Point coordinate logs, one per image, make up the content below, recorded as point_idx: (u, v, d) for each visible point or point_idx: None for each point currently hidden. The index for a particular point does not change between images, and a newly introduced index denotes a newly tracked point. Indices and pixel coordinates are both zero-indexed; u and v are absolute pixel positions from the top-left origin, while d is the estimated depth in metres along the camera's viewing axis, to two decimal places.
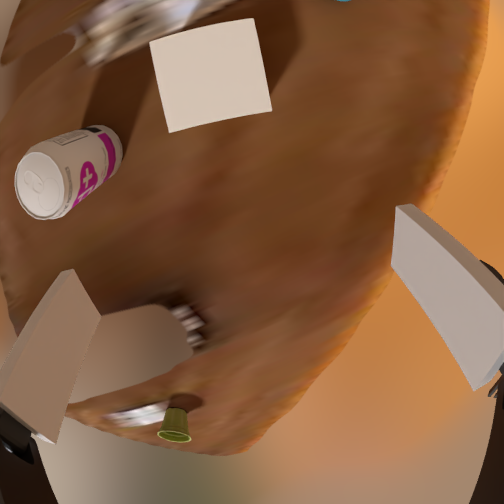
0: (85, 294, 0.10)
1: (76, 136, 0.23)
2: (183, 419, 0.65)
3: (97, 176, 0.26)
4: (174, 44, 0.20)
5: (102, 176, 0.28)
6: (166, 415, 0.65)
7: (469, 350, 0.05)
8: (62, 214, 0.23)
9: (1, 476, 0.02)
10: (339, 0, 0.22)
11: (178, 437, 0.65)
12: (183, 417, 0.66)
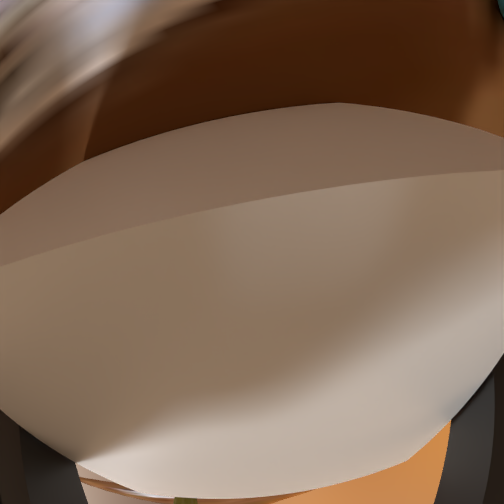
0: None
1: None
2: None
3: None
4: None
5: None
6: (175, 503, 0.47)
7: None
8: None
9: (28, 469, 0.03)
10: None
11: None
12: None
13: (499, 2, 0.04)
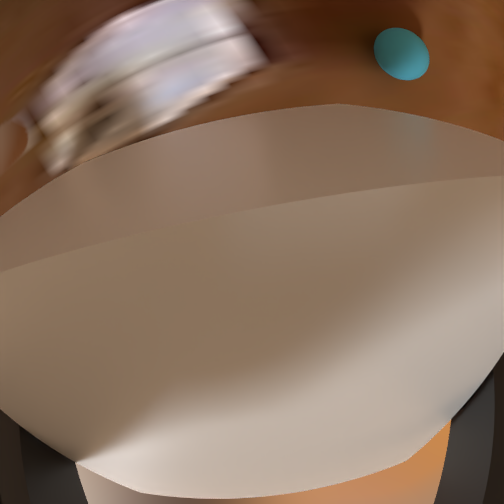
0: None
1: None
2: None
3: None
4: None
5: None
6: None
7: None
8: None
9: (28, 469, 0.03)
10: None
11: None
12: None
13: None
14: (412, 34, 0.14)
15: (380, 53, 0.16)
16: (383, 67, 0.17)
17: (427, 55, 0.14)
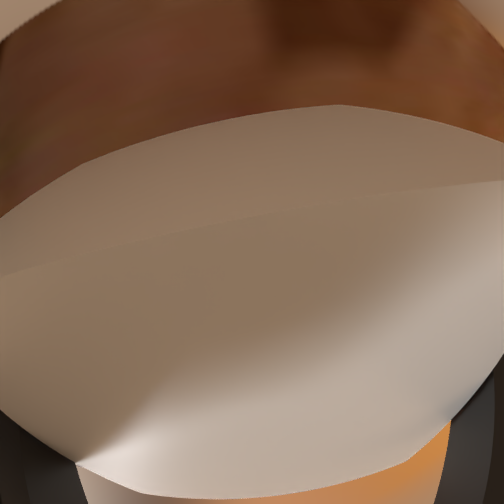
0: None
1: None
2: None
3: None
4: None
5: None
6: None
7: None
8: None
9: (28, 469, 0.03)
10: None
11: None
12: None
13: None
14: None
15: None
16: None
17: None
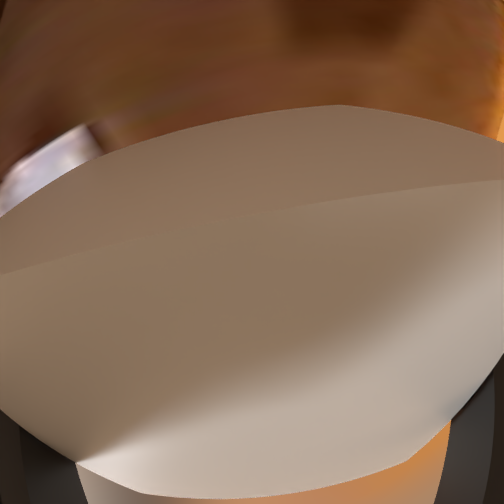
0: None
1: None
2: None
3: None
4: None
5: None
6: None
7: None
8: None
9: (28, 469, 0.03)
10: None
11: None
12: None
13: None
14: None
15: None
16: None
17: None
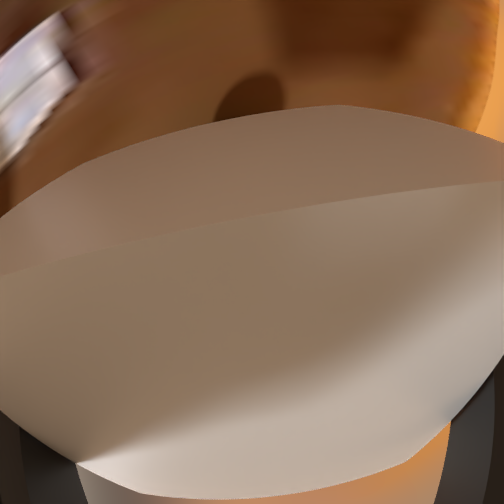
0: None
1: None
2: None
3: None
4: None
5: None
6: None
7: None
8: None
9: (28, 469, 0.03)
10: None
11: None
12: None
13: None
14: None
15: None
16: None
17: None
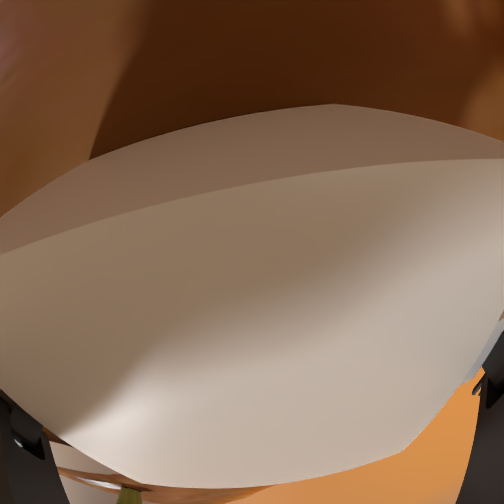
0: None
1: None
2: (136, 499, 0.48)
3: None
4: (1, 338, 0.03)
5: None
6: (120, 493, 0.48)
7: None
8: None
9: (11, 473, 0.03)
10: None
11: None
12: (136, 497, 0.49)
13: None
14: None
15: None
16: None
17: None
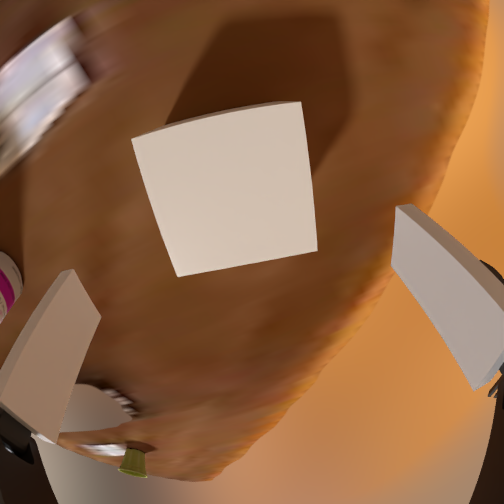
0: (85, 294, 0.10)
1: None
2: (140, 460, 0.60)
3: None
4: (172, 146, 0.15)
5: (2, 313, 0.24)
6: (125, 454, 0.61)
7: (469, 350, 0.05)
8: None
9: (1, 476, 0.02)
10: None
11: (138, 473, 0.60)
12: (140, 457, 0.61)
13: None
14: None
15: None
16: None
17: None
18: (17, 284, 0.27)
